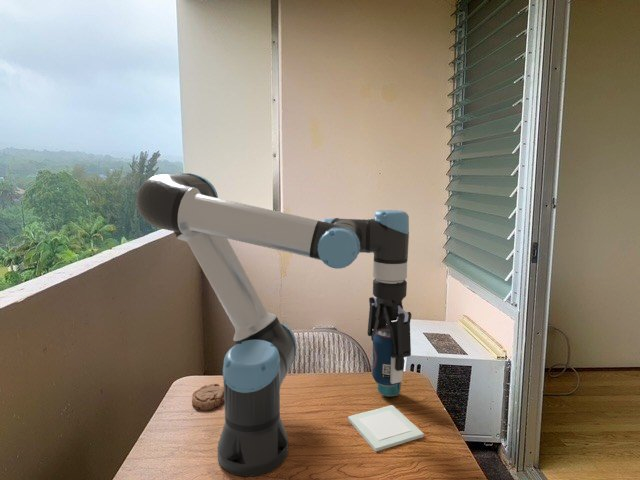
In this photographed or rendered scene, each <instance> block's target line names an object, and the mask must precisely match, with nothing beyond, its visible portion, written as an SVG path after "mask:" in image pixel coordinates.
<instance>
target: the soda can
mask: <svg viewBox="0 0 640 480" xmlns="http://www.w3.org/2000/svg"><path fill="white" fill-rule="evenodd" d="M391 355H394V353H393V347H392V341H391V335H390V329H389V328H387V327H385V328H379V329H377V330H376V334H375V335H374V337H373V341H372V361H371V362H372V364H371V367H372V370H371V376H372V378H373V379H374V381H375V383H376V384H377V383H378V384H379V385H382V386H387V387H390V386H395V385H397V384H398V383H399V382H398V383H394V384H391V383H390V373H391ZM378 384H377V385H378Z"/></svg>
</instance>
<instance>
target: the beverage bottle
mask: <svg viewBox="0 0 640 480" xmlns="http://www.w3.org/2000/svg"><path fill="white" fill-rule="evenodd" d="M386 327H387V328H389V326H388V325H387V324H386ZM376 385H377V391H378V393H380V395H382V396H386V397H396V396H398V395H399V394H401V390H402V388H401V387H402V382H399V383H398V384H397V385H395V386H390V387H387V386H382V385H379V384H378V383H376Z"/></svg>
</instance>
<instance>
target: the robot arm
mask: <svg viewBox="0 0 640 480" xmlns="http://www.w3.org/2000/svg"><path fill="white" fill-rule="evenodd" d="M135 199H136V200H135V201H136V202H135V203H136V207H137V211H138V213H139V215H140V217H141V218H142V219H143V220H144V221H145V222H146V223H147V224H149V225H151V226H152V227H155V228H157V229H162V230H166V231H170V232H171V231H172V232H173V233H174V235H175V236H176V238H177V240H180V241H183V242H186V243H187V245H188V246H189V248H190V249H191V252H192V253H193V255H194V257H195V260H196V261H197V262H198V264H199V266H200V268H201V270H202V272H203V273H204V275H205V278H206V279H207V281H208V282H209V284H210V286H211V288H212V290H213V291H214V293H215V295H216V297H217V299H218V301H219V303H220V304H221V306H222V308H223V310H224V311H225V313H226V316H228V319H229V320H230V323H231V324H232V327H234V330H235V332H234V335H233V341H234V345H233V346H232V347H230V348H229V350H228V351H227V352H226V354H225V355H224V359H223V366H222V377H223V387H224V401H223V404H224V424H223V428H222V431H221V434H220V436H219V439H218V444H217V461H218V463H219V464H220V465H219V466H220V467H221V468H222V469H224V471H226V472H228V473H229V474H233V475H234V476H238V477H257V476H262V475H265V474H267V473H271V472H272V471H274V470H276V469H277V468H279V467H280V466H281V465H283V463H284V462H285V460H286V459H287V457H288V454H289V438H288V435H287V432H286V430H285V426H284V424H283V420H282V419H281V411H280V410H281V402H280V401H281V396H280V395H281V386H282V384H283V382H284V380H285V378H286V376H287V374H288V371H289V370H290V368H291V366H292V365H293V363H294V361H295V358H296V353H297V348H298V347H297V346H298V345H297V339H296V336H295V334H294V332H293V331H292V330H291V329H290V328H289V326H288V325H286V324H283V323H282V322H280V320H279V318H278V316H277V314H275V313H272V312H268V311H267V309H266V307H265V306H264V303H263V301H262V300H261V298H260V296H259V294H258V293H257V291H256V289H255V287H254V285H253V284H252V282H251V280H250V278H249V275H248V274H247V272H246V270H245V269H244V267H243V265H242V263H241V261H240V259H239V258H238V256H237V254H236V253H235V250H234V249H233V247H232V245H231V243H230V241H229V240H233V241H236V242H237V241H239V242H241V243H245V244H246V243H247V244H249V245H255V246H259V247H263V248H267V249H272V250H276V251H281V252H285V253H289V254H295V255H298V256H302V257H306V258H309V259H310V258H311V259H315V260H319V261H321V262H322V263H323V264H324V265H326V266H327V267H329V268H331V269H336V270H338V269H344V268H345V269H346V267H349V266H350V265H352V264H353V262H354V261H355V260H356V259H357V258H358V256H359V254H360V253H366V254H371V253H373V265H372V267H373V268H372V269H373V271H372V277H373V278H374V279H373V280H372V295H373V296H372V297H369V298H368V302H369V311H368V312H369V313H368V322H367V323H368V324H367V336H368V337H370V338H371V341H372V342H373V337H374V335H375V334H376V330H377V329H379V328H385V327H386V325H388V326H389V329H390V335H391V341H392V347H393V353H394V355H391V373H390V383H391V384H394V383H398V382H401V383H402V382H403V372H404V364H405V363H404V362H405V358H407V357H411V356H412V353H411V352H412V350H411V349H412V347H411V346H412V345H411V342H412V341H411V319H412V312H410V311H405V310H404V305H403V300H404V299H405V298H406V296H407V290H408V289H407V288H408V287H407V286H408V283H407V280H406V279H407V278H408V275H407V274H408V260H409V255H408V254H409V238H410V224H409V223H410V222H409V221H410V219H409V214H408V213H407V212H406V211H403V210H398V209H397V210H396V209H394V210H392V209H380V210H376V211H375V212H374V217H373V218H371V219H357V218H339V217H334V218H324V219H322V220H318V219H313V218H309V217H304V216H300V215H297V214H296V215H295V214H291V213H286V212H282V211H277V210H274V209H273V210H272V209H268V208H264V207H260V206H255V205H250V204H246V203H242V202H238V201H234V200H233V201H232V200H228V199H223V198H219V195H218V192H217V190H216V188H215V186H214V185H213V184H212V183H211V181H209V180H208V179H207V178H205V177H203V176H201V175H199V174H198V175H197V174H194V173H190V172H189V173H188V172H187V173H179V174H175V173H174V174H173V173H172V174H169V173H161V174H156V175H153V176H150V177H149V178H147V179H146V180H145V181H144V182H143V183H142V184H141V185H140V187H139V189H138V191H137V194H136V198H135Z"/></svg>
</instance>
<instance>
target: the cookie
mask: <svg viewBox="0 0 640 480" xmlns="http://www.w3.org/2000/svg"><path fill="white" fill-rule="evenodd" d="M191 396H192V400H191V404H192V405H191V406H192V407H194V408H195V409H196V410H197V411H201V412H203V411H211V410H213V409H216V408H217V407H219V406H220V405H221V404H223V403H224V386H221V385H220V384H219V383H211V384H206V385H203V386H201V387H200V388H199V389H197V390H195V391H194V392H193V393H192V395H191Z"/></svg>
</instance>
